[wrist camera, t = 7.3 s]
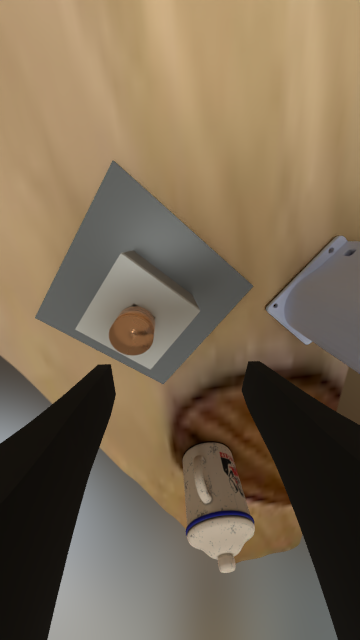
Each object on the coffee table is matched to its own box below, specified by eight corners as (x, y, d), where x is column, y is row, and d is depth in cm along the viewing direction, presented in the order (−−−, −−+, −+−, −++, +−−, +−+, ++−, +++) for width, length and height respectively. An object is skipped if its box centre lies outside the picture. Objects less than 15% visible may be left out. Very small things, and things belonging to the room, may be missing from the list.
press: (114, 162, 13) (86, 120, 9) (251, 285, 18) (280, 299, 14) (37, 316, 18) (-7, 341, 13) (163, 381, 23) (162, 416, 18)
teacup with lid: (237, 461, 32) (273, 571, 21) (191, 475, 33) (203, 587, 22) (218, 423, 27) (252, 540, 16) (165, 440, 28) (164, 562, 17)
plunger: (134, 268, 15) (115, 282, 10) (179, 301, 16) (185, 329, 11) (106, 311, 16) (76, 345, 11) (150, 338, 18) (143, 379, 12)
